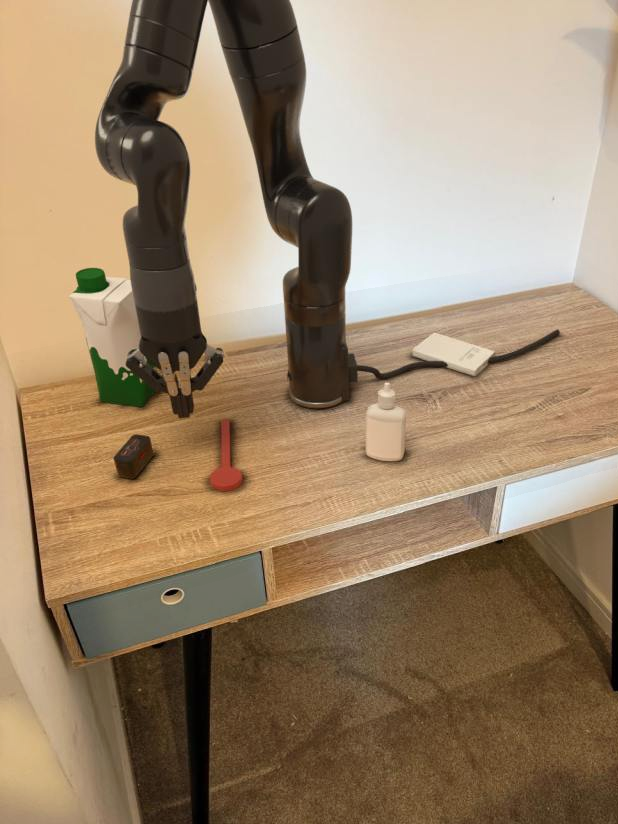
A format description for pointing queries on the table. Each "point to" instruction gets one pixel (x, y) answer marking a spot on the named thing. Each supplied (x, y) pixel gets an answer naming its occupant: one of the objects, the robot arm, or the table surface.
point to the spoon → (225, 464)
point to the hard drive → (454, 353)
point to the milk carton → (111, 335)
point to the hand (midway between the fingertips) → (184, 414)
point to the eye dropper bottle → (385, 427)
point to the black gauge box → (133, 456)
